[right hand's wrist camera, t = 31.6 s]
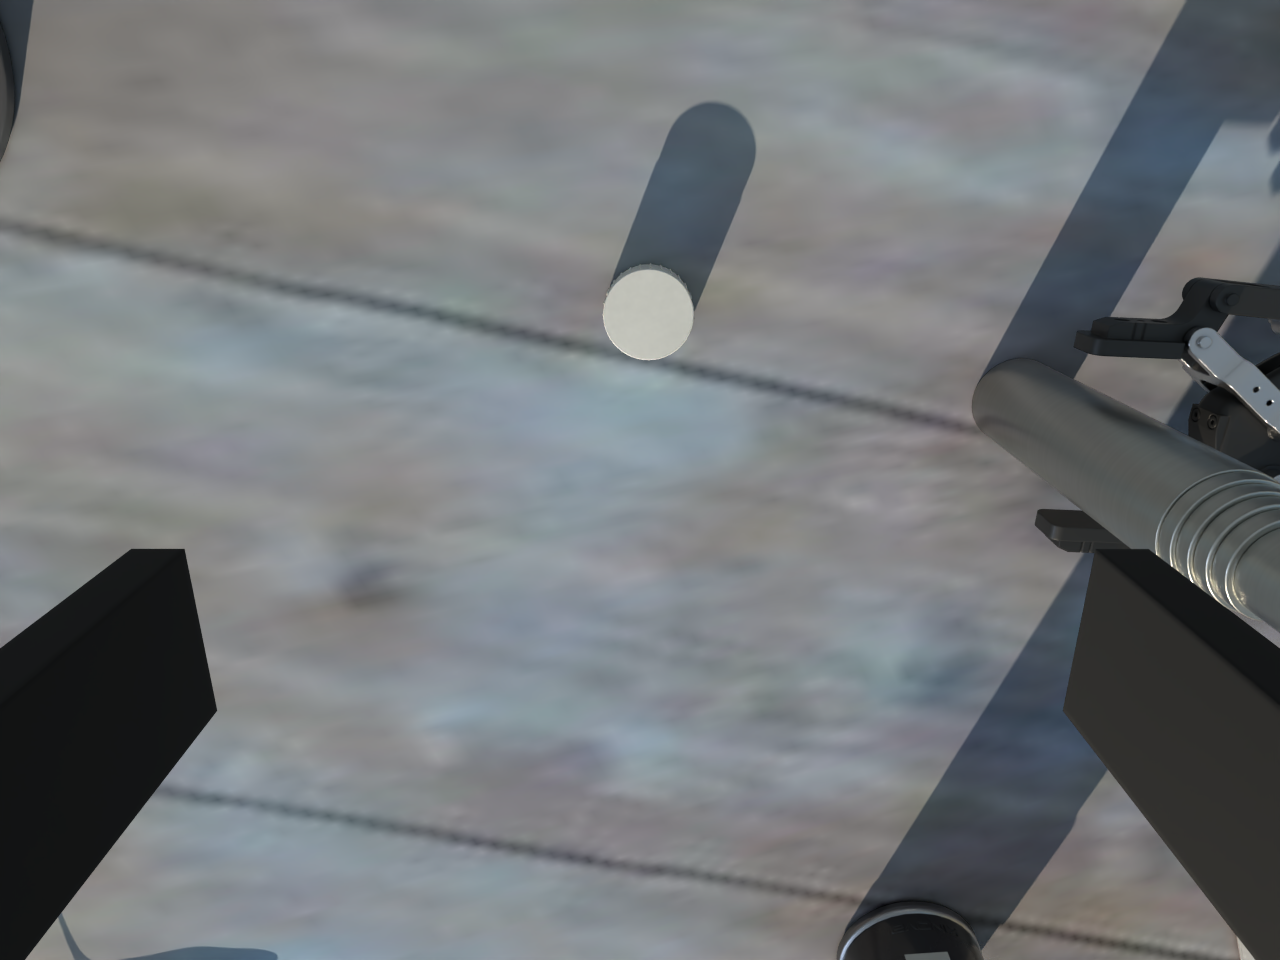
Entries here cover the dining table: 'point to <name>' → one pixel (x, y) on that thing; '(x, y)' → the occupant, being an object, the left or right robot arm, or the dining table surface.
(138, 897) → the dining table surface
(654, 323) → the cap
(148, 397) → the dining table surface
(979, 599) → the dining table surface
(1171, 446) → the bottle
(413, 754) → the dining table surface
